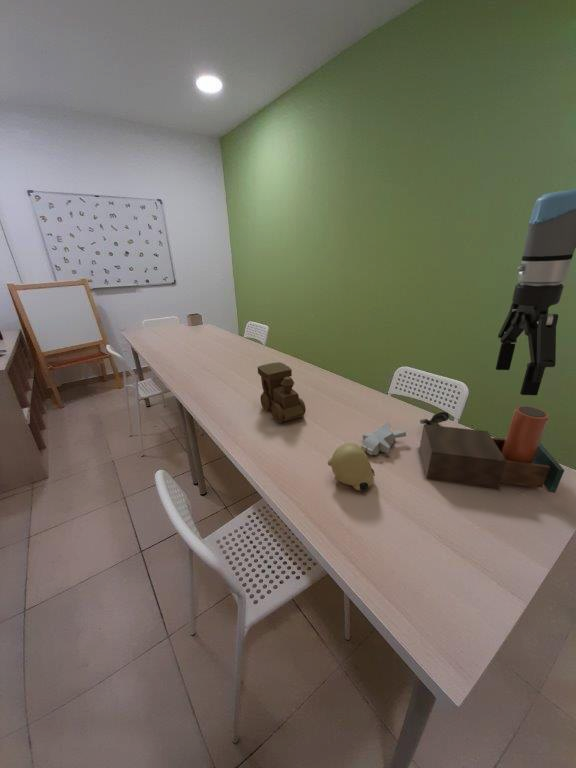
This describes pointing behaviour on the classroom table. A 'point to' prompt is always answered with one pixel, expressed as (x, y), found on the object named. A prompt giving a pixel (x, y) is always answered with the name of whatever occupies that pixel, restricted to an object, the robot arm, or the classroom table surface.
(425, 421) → the eagle figurine
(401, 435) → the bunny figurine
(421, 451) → the cabinet
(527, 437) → the pencil holder
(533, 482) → the drawer
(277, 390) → the wooden toy train
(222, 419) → the classroom table surface
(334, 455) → the tan rounded lump
